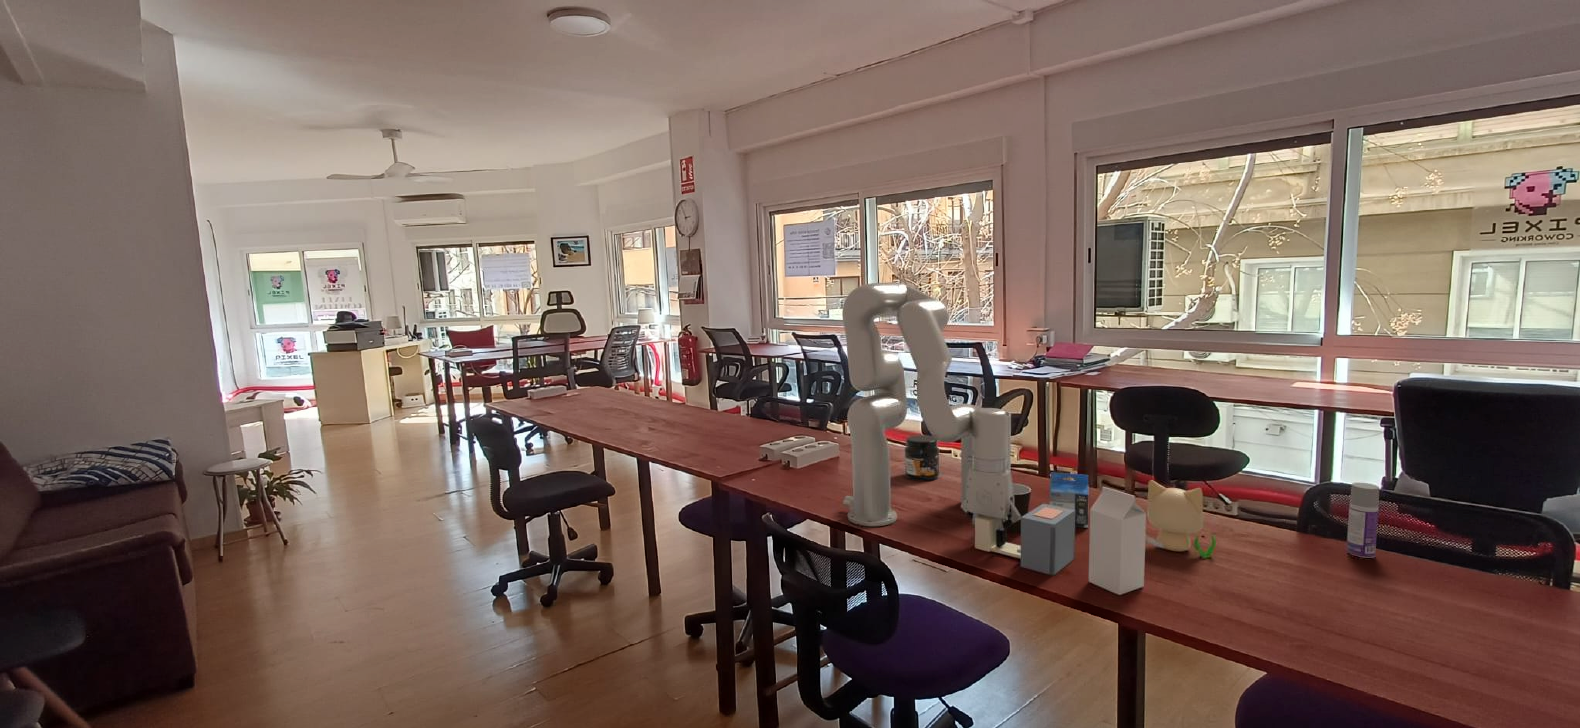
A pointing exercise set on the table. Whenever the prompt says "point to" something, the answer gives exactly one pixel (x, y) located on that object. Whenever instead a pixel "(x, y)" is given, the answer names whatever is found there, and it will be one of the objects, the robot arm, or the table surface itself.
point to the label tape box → (1071, 495)
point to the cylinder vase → (967, 451)
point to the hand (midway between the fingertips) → (990, 542)
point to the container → (1363, 520)
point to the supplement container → (921, 457)
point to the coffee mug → (1019, 506)
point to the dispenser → (1047, 539)
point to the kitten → (1176, 517)
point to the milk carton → (1117, 542)
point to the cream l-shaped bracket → (991, 537)
